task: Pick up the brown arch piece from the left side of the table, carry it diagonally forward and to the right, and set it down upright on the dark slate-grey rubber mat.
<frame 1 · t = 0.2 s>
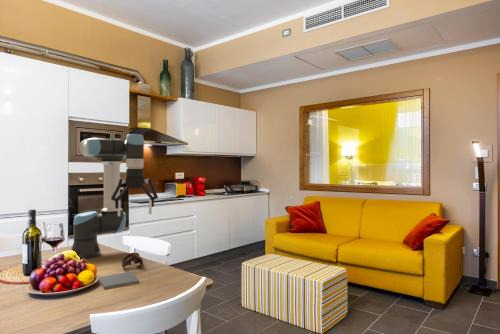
hand: (134, 215, 158), 27 cm above the table, tool pointing down, fingers open, 13 cm apart
slate mat: (118, 281, 148), on the table
brown arch piece: (133, 267, 169), on the table
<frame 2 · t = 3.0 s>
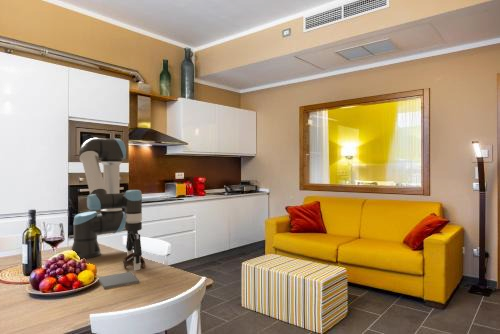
hand: (133, 266, 169), 0 cm above the table, tool pointing down, fingers open, 11 cm apart
brown arch piece: (135, 267, 169), on the table, touching gripper
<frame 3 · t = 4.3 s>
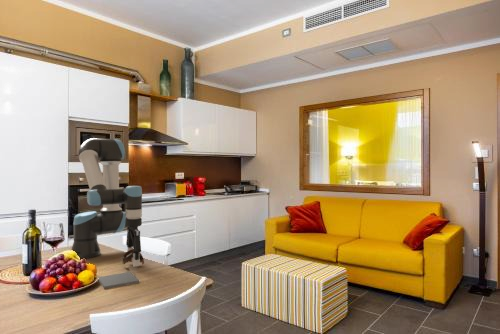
hand: (133, 263, 169), 2 cm above the table, tool pointing down, fingers closed on brown arch piece, 10 cm apart
brown arch piece: (134, 264, 170), point 1 cm above the table, touching gripper
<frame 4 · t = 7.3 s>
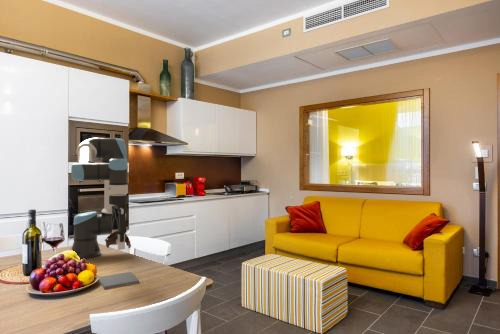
hand: (118, 246, 148), 15 cm above the table, tool pointing down, fingers closed on brown arch piece, 10 cm apart
brown arch piece: (119, 247, 149), point 14 cm above the table, touching gripper
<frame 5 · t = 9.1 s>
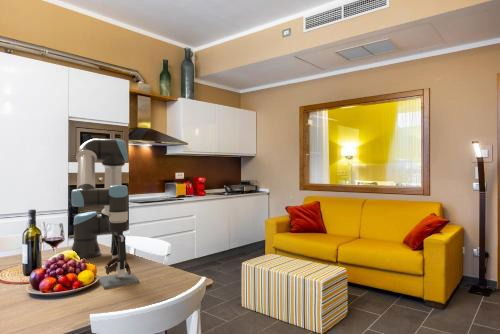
hand: (118, 273, 148), 3 cm above the table, tool pointing down, fingers closed on brown arch piece, 10 cm apart
brown arch piece: (119, 274, 149), point 3 cm above the table, touching gripper
when the fingers open (2 cm above the table, at t = 10.3 s): brown arch piece stays where it is, resting on slate mat.
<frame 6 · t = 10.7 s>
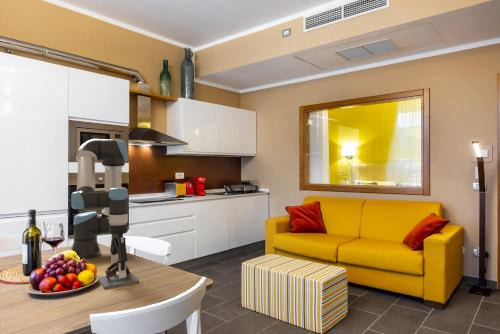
hand: (118, 273, 148), 3 cm above the table, tool pointing down, fingers open, 13 cm apart
brown arch piece: (119, 278, 149), point 1 cm above the table, touching slate mat
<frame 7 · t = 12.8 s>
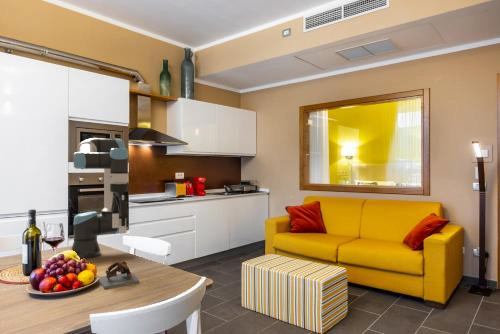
hand: (119, 230, 155), 20 cm above the table, tool pointing down, fingers open, 13 cm apart
nothing on the table moved.
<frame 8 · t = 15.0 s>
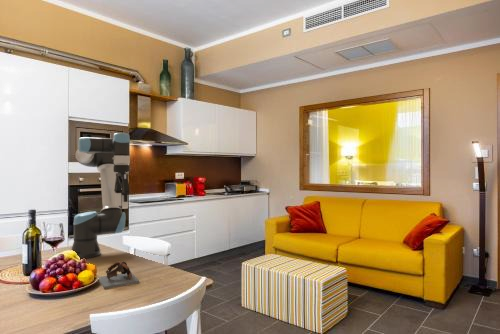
hand: (121, 207, 172), 29 cm above the table, tool pointing down, fingers open, 13 cm apart
nothing on the table moved.
at the end: brown arch piece inside the target area on the slate mat (0.9 cm from its centre), point 0.8 cm above the slate mat's base; brown arch piece tilted 0°; the gripper is holding nothing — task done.
